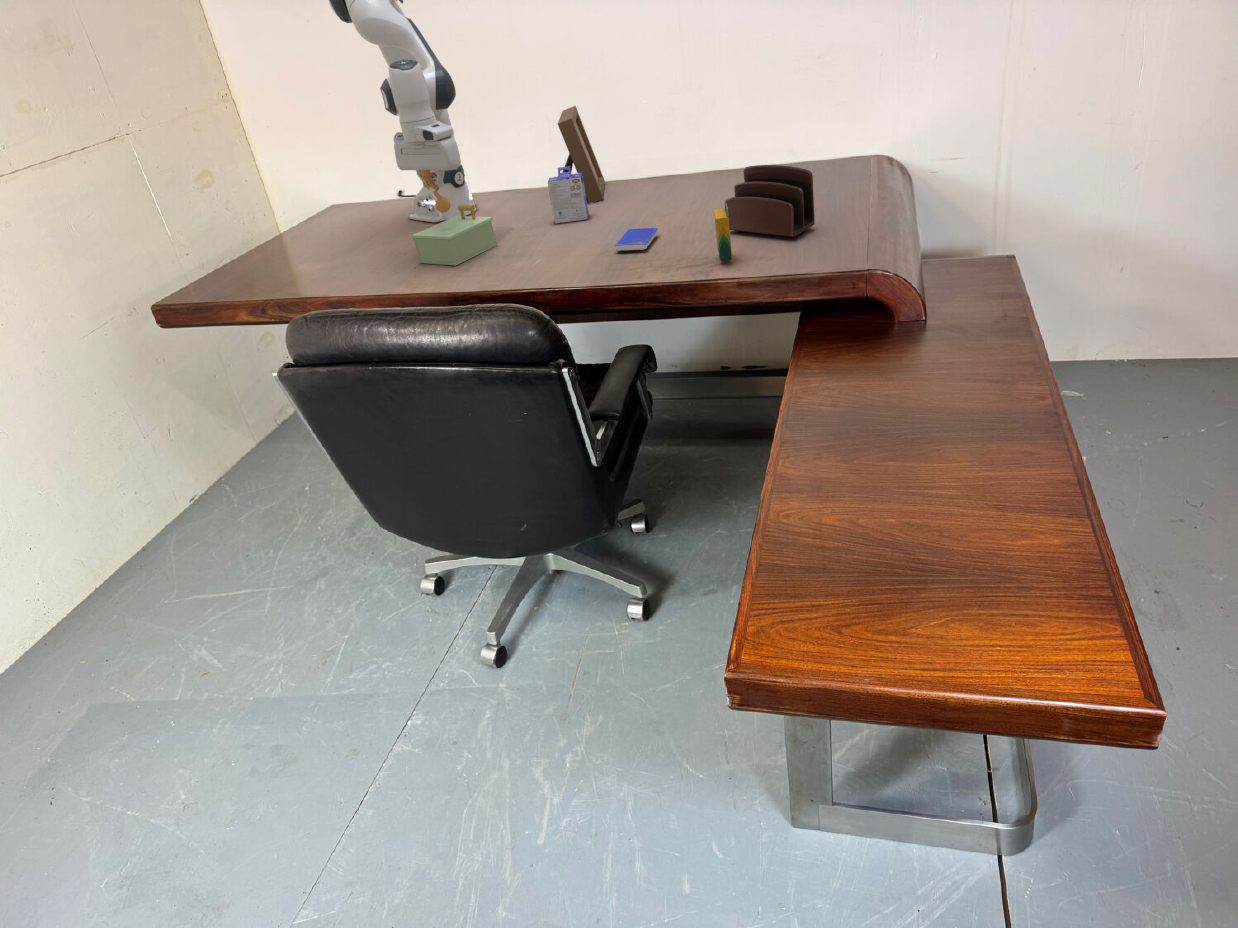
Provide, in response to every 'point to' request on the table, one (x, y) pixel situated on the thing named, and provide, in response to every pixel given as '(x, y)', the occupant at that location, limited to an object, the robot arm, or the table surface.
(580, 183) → the ink cartridge box
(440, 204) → the figurine
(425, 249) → the chest
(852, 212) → the table surface
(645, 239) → the hard drive
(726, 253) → the crayon box
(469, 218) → the chest lid
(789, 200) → the letter holder
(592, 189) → the photo frame
